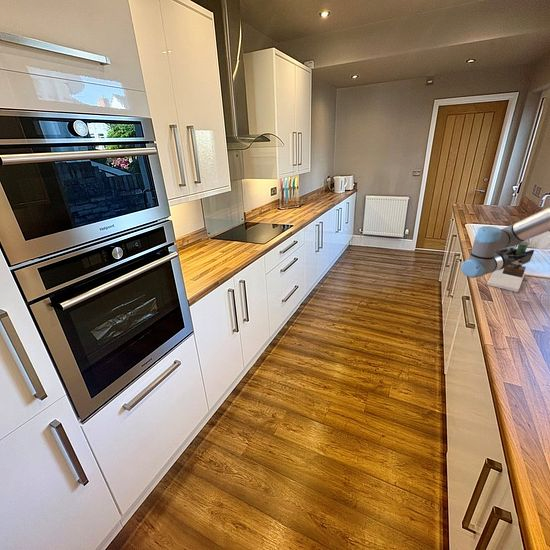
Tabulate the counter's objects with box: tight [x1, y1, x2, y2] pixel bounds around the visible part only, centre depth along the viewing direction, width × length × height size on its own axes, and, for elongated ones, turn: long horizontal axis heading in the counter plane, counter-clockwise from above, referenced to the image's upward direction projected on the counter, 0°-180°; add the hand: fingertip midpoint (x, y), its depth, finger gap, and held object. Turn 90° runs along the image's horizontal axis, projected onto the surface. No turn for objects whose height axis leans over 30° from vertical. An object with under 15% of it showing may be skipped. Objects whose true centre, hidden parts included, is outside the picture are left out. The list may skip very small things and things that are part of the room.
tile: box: [486, 269, 526, 293], centre depth 141 cm, size 12×22×2 cm, turn 137°
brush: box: [503, 242, 529, 278], centre depth 126 cm, size 7×5×14 cm
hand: (527, 251), depth 127 cm, fingers closed on brush, 3 cm apart
